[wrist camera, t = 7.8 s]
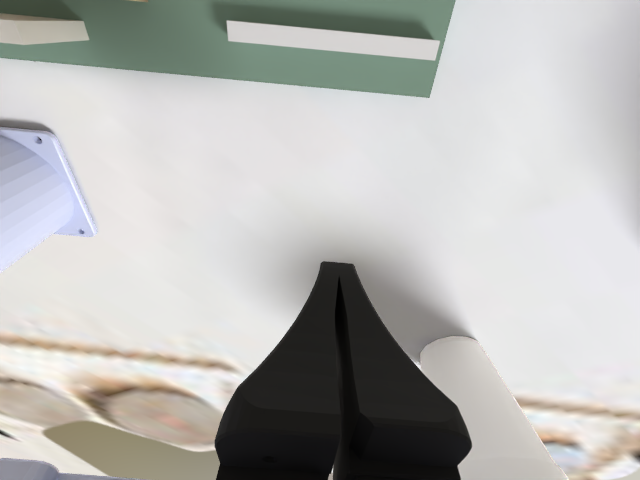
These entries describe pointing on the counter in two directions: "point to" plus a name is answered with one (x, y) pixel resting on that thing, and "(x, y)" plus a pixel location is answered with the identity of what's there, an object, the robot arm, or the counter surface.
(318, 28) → the pitch mat
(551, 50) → the counter surface
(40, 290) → the counter surface
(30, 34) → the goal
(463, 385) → the foam cup
